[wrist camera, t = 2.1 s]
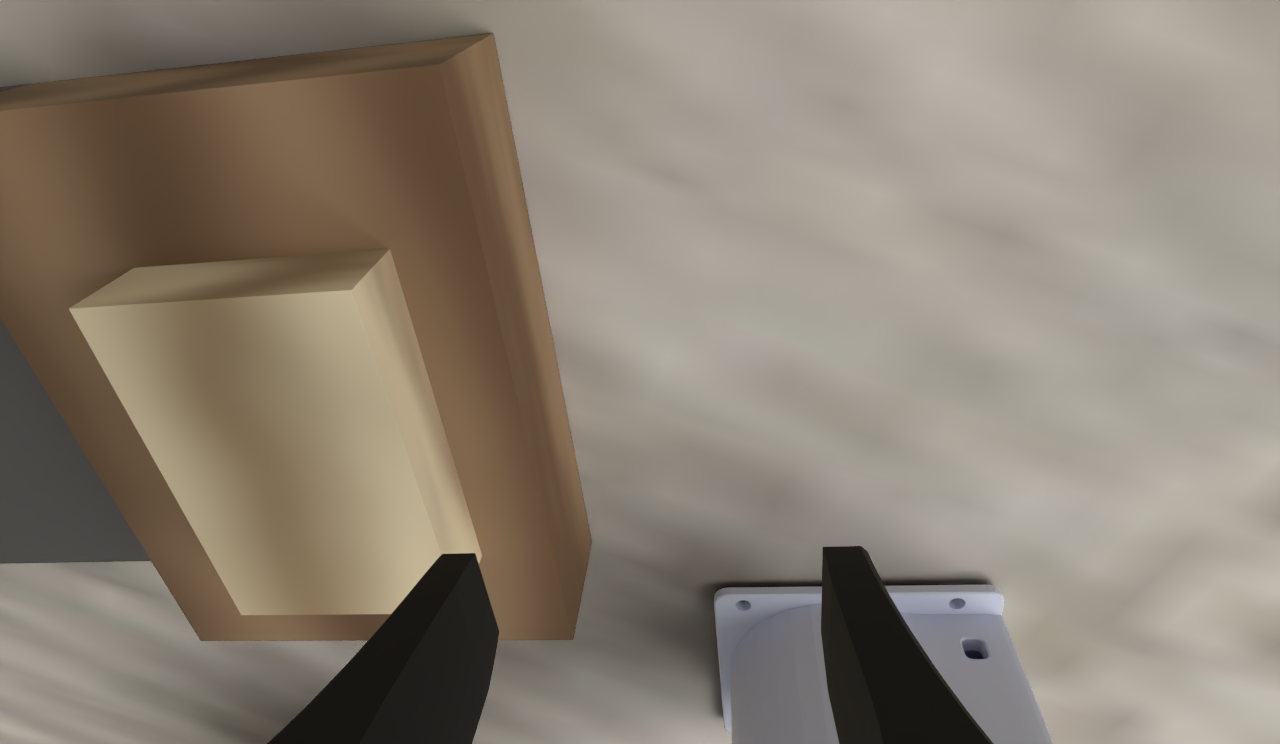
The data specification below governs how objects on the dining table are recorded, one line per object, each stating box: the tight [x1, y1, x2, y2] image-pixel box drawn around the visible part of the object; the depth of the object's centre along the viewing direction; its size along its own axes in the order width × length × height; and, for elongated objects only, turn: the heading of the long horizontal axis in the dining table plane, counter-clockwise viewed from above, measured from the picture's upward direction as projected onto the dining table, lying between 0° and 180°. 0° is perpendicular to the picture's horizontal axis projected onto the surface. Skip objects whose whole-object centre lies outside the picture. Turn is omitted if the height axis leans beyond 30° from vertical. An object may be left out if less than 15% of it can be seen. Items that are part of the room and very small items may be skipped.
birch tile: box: [69, 249, 482, 615], centre depth 18 cm, size 6×9×2 cm, turn 6°
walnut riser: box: [0, 33, 592, 641], centre depth 20 cm, size 12×16×4 cm
